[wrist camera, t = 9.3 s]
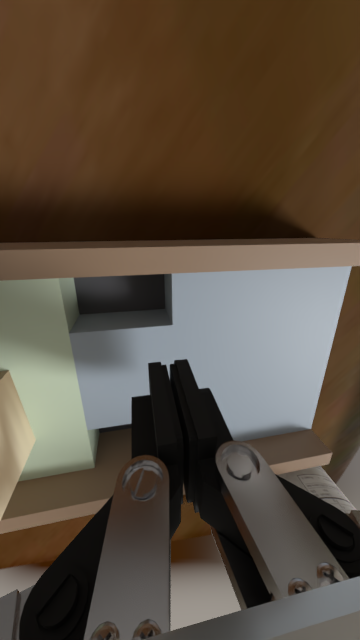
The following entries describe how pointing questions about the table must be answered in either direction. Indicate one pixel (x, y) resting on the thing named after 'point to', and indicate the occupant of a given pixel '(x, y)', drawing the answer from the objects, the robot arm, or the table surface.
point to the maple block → (12, 438)
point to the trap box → (162, 350)
